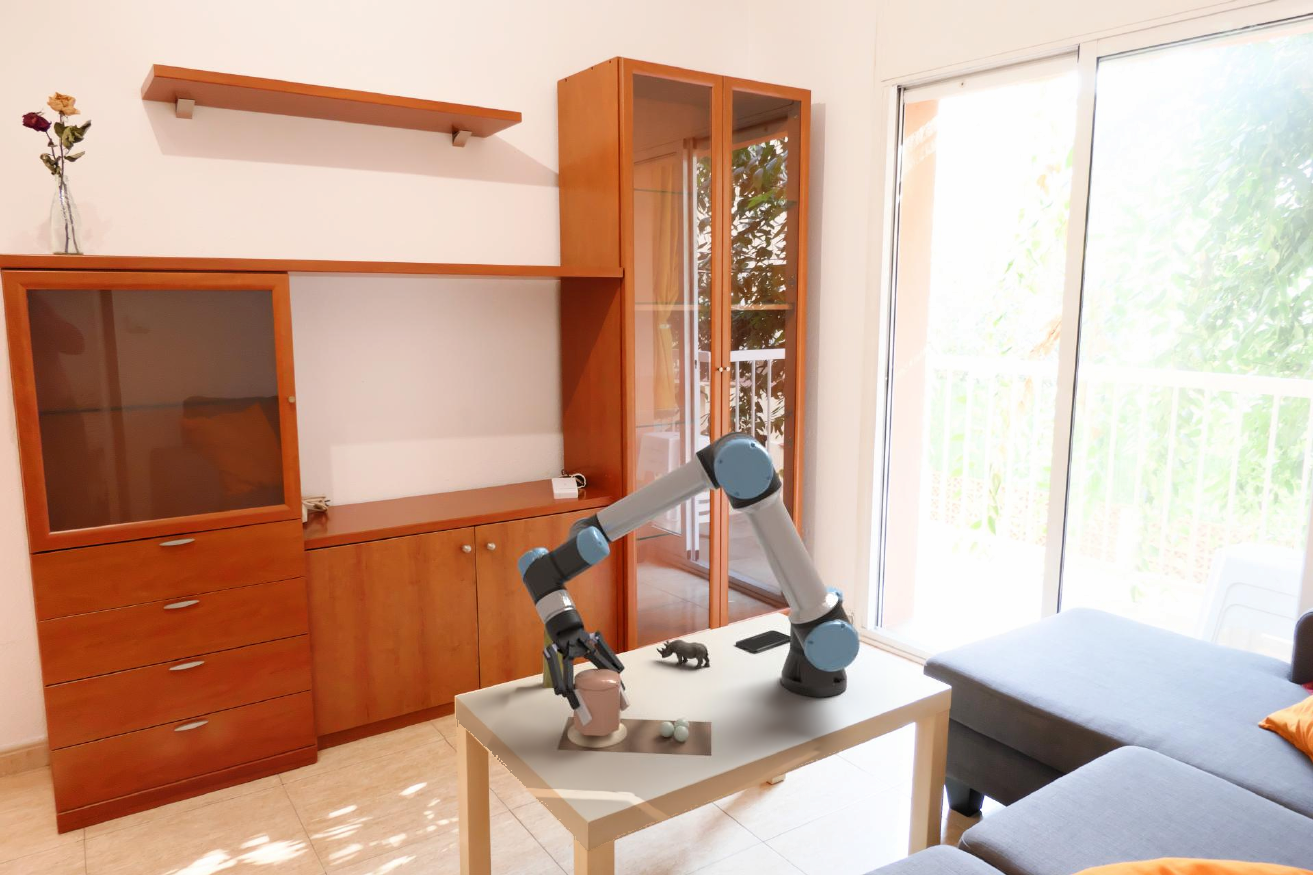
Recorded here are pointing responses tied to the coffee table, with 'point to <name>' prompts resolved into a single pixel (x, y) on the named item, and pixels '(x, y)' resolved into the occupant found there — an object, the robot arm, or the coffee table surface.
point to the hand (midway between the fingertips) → (607, 714)
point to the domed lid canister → (599, 701)
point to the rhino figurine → (686, 652)
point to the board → (651, 739)
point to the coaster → (597, 738)
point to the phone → (763, 641)
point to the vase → (546, 673)
